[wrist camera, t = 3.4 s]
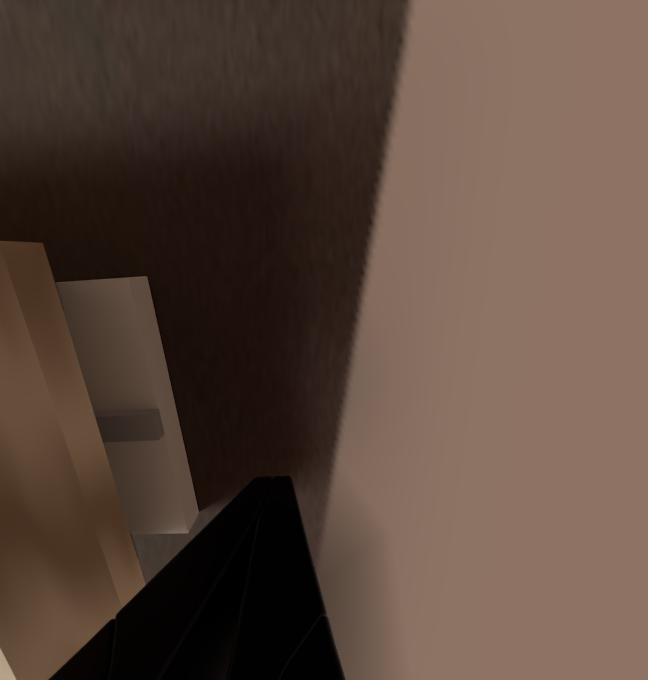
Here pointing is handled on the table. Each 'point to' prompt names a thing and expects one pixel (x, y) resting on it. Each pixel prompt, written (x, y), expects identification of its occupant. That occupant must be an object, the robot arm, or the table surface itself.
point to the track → (132, 400)
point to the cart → (51, 484)
